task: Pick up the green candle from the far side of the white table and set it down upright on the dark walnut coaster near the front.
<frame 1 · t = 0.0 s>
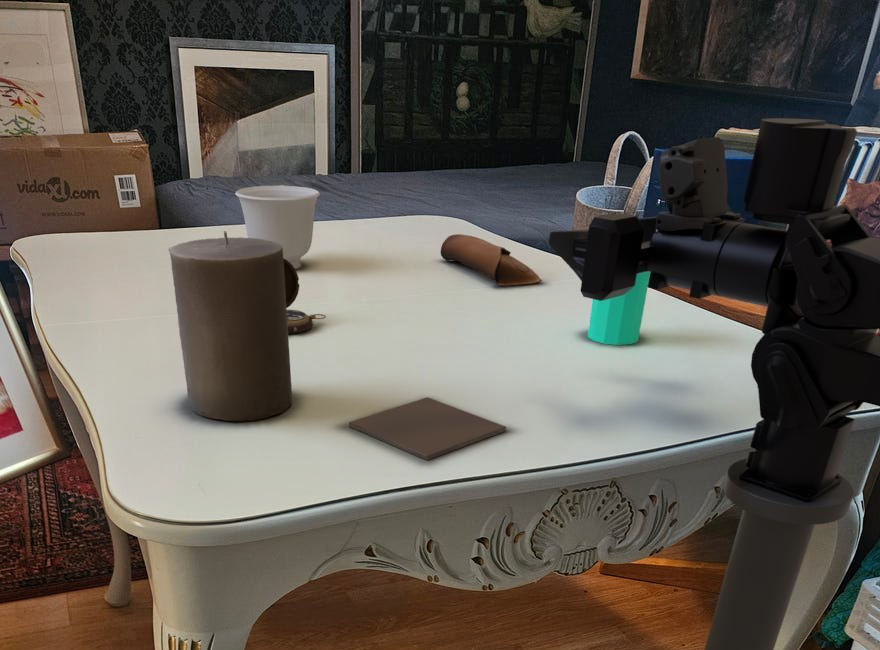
hand: (581, 232, 81), 14 cm above the table, tool horizontal, fingers open, 9 cm apart
sunglasses case: (489, 273, 129), on the table
mat: (427, 428, 77), on the table
compass: (292, 326, 104), on the table
pillar candle: (240, 405, 82), on the table
candle: (612, 339, 102), on the table
teacup: (282, 265, 130), on the table
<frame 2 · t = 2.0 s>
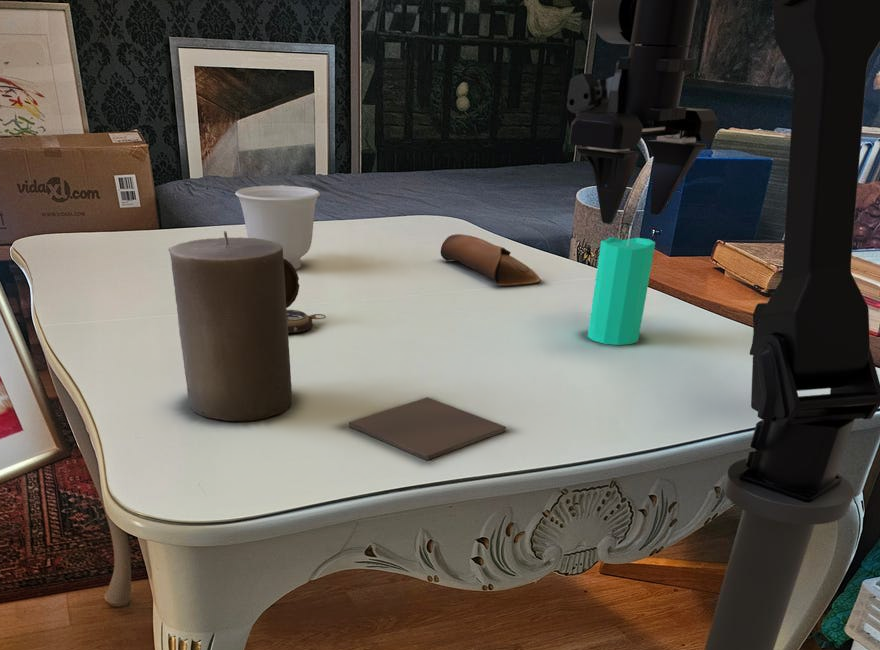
hand: (631, 218, 95), 13 cm above the table, tool pointing down, fingers open, 9 cm apart
nothing on the table moved.
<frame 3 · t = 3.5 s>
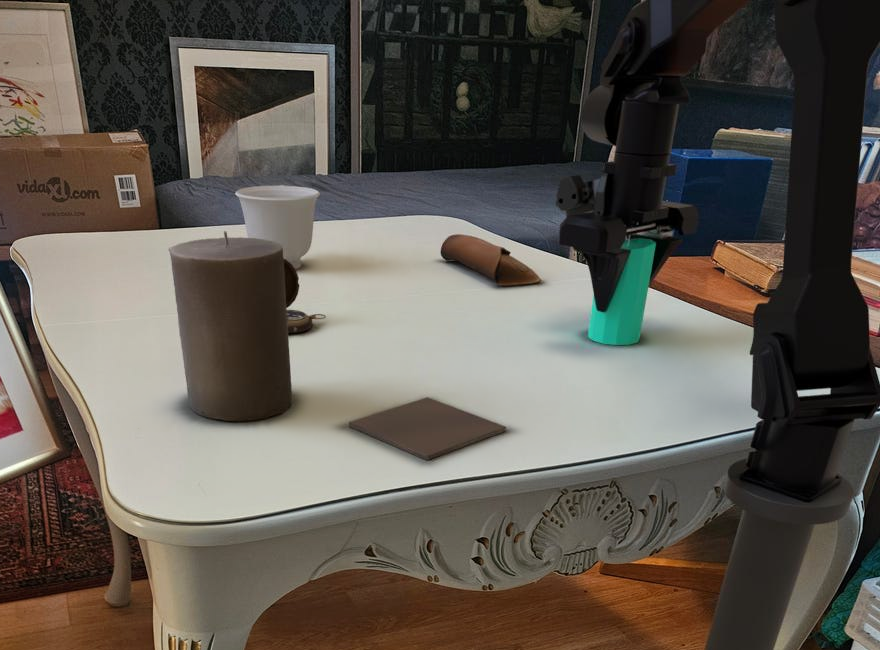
hand: (618, 306, 100), 4 cm above the table, tool pointing down, fingers closed on candle, 6 cm apart
candle: (613, 339, 102), on the table, touching gripper
everything else where it was.
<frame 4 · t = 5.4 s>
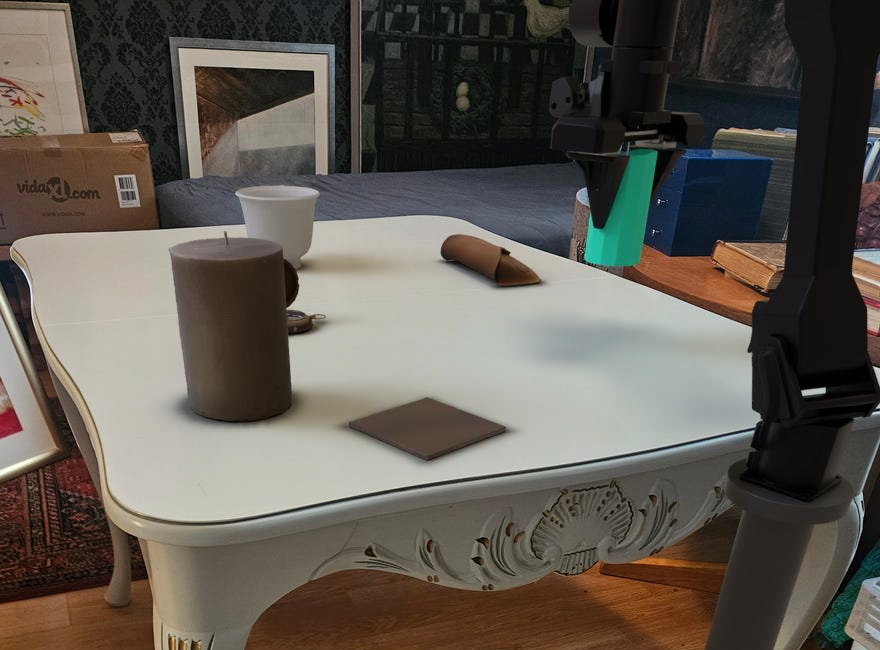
hand: (617, 225, 92), 13 cm above the table, tool pointing down, fingers closed on candle, 6 cm apart
candle: (611, 262, 94), point 9 cm above the table, touching gripper
everything else where it was.
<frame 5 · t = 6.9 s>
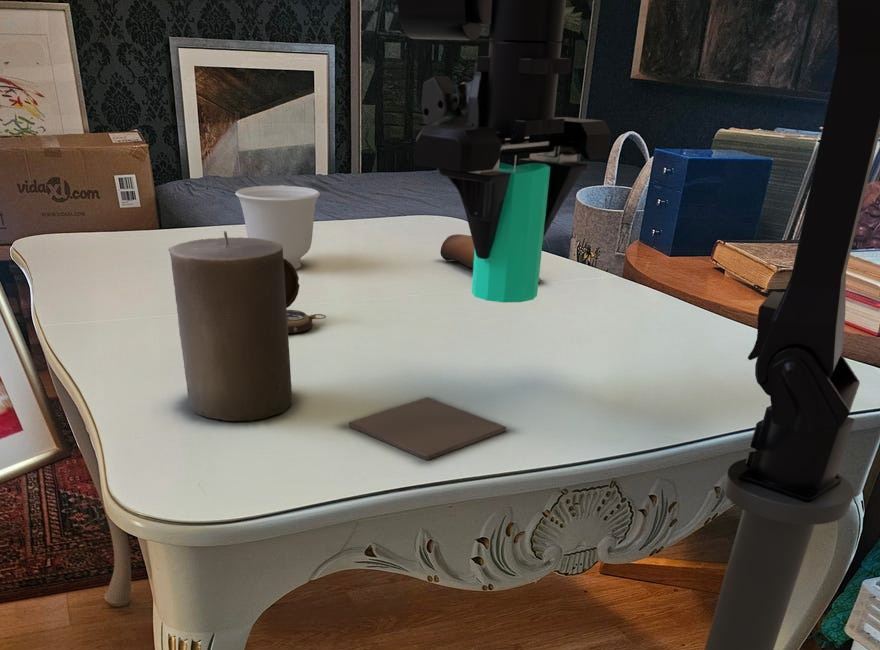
hand: (507, 253, 78), 13 cm above the table, tool pointing down, fingers closed on candle, 6 cm apart
candle: (504, 296, 80), point 9 cm above the table, touching gripper
everything else where it was.
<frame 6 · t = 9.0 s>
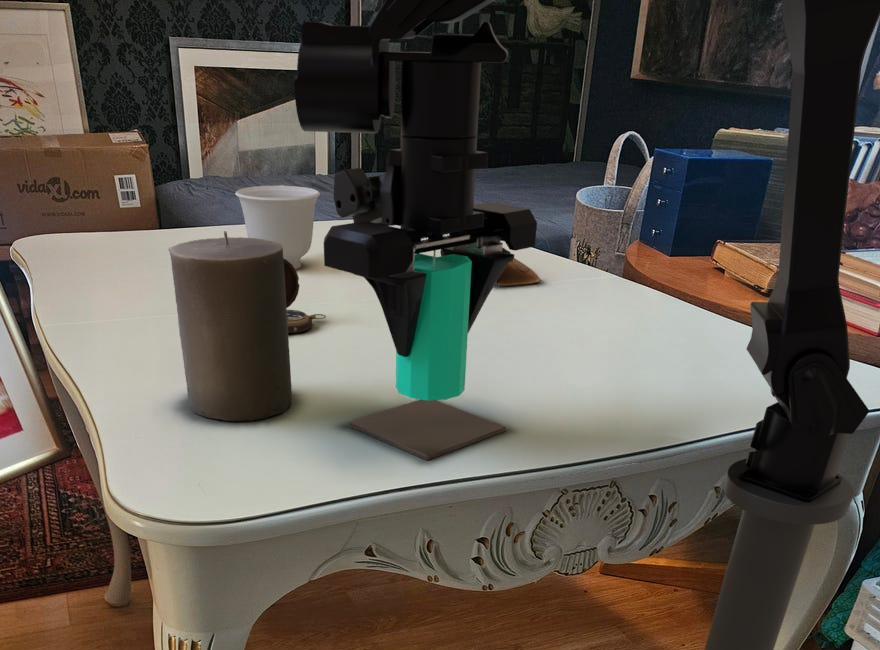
hand: (431, 347, 73), 7 cm above the table, tool pointing down, fingers closed on candle, 6 cm apart
candle: (430, 390, 75), point 3 cm above the table, touching gripper
everything else where it was.
when the fingers open (4 cm above the table, at t = 10.7 s): candle stays where it is, resting on mat.
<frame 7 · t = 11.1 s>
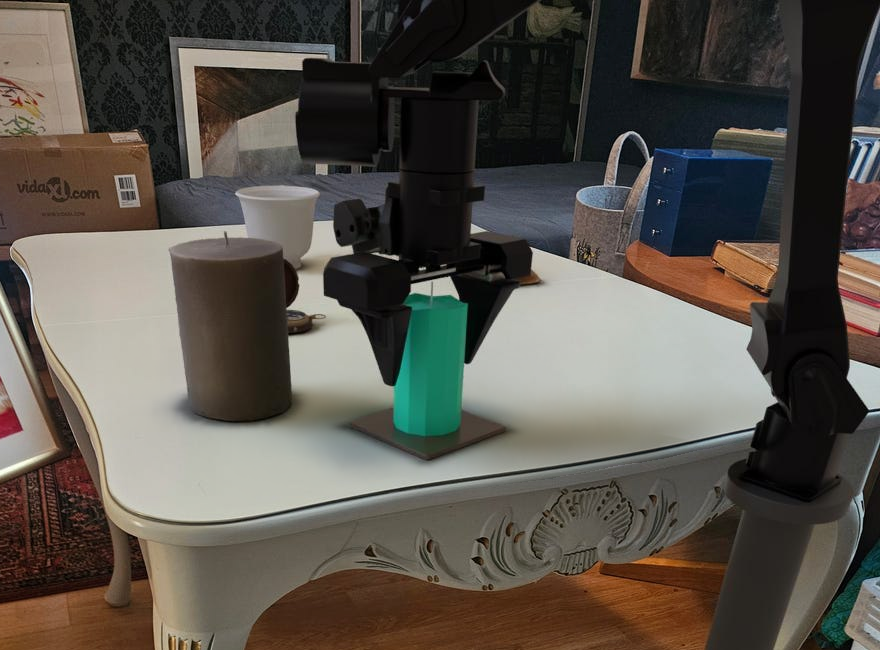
hand: (428, 373, 74), 5 cm above the table, tool pointing down, fingers open, 9 cm apart
candle: (426, 425, 77), resting on mat
everything else where it was.
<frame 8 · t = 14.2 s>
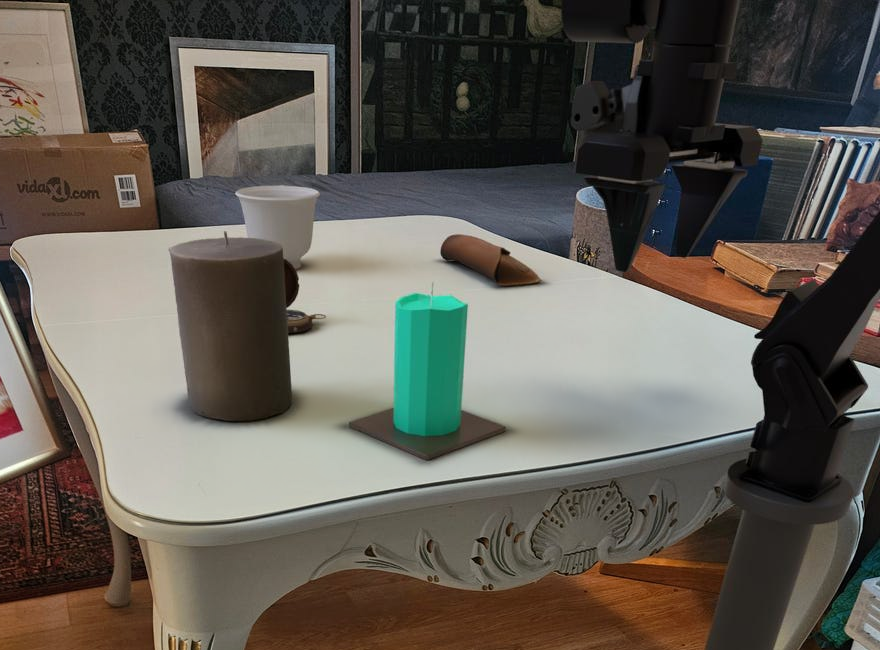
hand: (652, 263, 75), 13 cm above the table, tool pointing down, fingers open, 9 cm apart
nothing on the table moved.
at the end: candle 0.2 cm off-centre on the mat, point 0.2 cm above the mat's base; candle tilted 0°; the gripper is holding nothing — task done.
